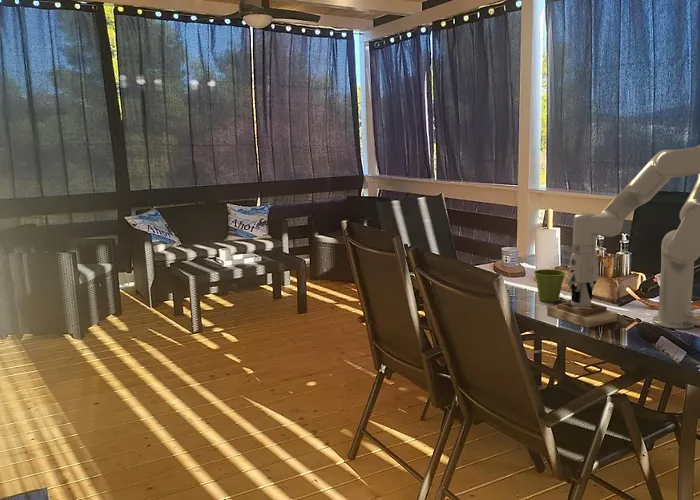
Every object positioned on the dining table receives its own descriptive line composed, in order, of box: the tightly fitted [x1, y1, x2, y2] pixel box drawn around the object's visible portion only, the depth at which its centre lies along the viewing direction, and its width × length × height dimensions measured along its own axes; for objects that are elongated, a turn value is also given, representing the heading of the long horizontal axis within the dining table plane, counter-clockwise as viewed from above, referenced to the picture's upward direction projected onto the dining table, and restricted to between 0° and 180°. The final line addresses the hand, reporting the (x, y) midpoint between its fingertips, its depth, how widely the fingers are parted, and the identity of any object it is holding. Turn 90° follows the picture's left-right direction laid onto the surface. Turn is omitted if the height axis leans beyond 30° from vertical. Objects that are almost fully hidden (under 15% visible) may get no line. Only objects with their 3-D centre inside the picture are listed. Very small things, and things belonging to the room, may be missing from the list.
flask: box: [570, 283, 593, 308], centre depth 213 cm, size 7×7×10 cm
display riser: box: [546, 301, 618, 329], centre depth 214 cm, size 18×14×4 cm
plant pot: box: [533, 268, 567, 303], centre depth 237 cm, size 12×12×11 cm
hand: (581, 300), depth 213 cm, fingers closed on flask, 5 cm apart
